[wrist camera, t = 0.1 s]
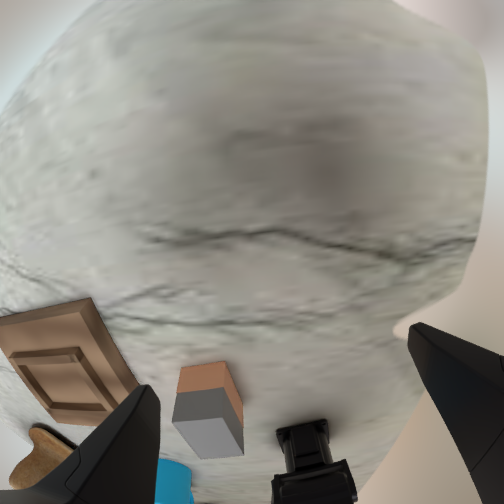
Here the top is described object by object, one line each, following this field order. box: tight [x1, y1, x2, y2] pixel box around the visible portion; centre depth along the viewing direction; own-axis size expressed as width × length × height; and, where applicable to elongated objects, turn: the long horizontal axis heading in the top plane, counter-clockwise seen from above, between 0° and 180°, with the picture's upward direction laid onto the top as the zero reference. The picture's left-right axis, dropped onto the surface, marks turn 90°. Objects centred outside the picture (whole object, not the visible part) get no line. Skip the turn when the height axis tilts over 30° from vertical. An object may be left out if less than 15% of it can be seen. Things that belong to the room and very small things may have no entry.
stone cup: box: [9, 427, 74, 490], centre depth 28 cm, size 15×12×15 cm
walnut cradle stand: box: [0, 298, 139, 426], centre depth 25 cm, size 16×16×4 cm
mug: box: [155, 458, 194, 504], centre depth 32 cm, size 12×8×8 cm
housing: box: [172, 361, 244, 459], centre depth 25 cm, size 7×4×7 cm, turn 13°
